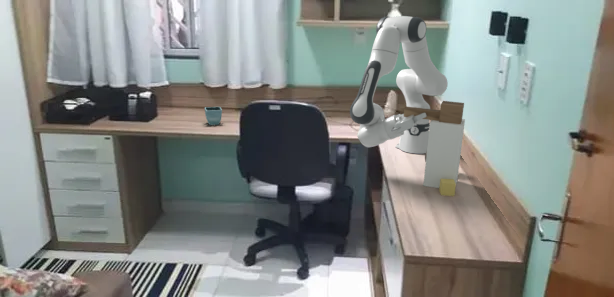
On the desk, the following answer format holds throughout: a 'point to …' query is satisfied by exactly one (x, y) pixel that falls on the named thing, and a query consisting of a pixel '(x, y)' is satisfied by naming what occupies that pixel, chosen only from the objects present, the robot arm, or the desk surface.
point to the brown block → (440, 112)
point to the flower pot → (213, 115)
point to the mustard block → (447, 187)
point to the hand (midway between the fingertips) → (427, 112)
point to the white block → (443, 152)
